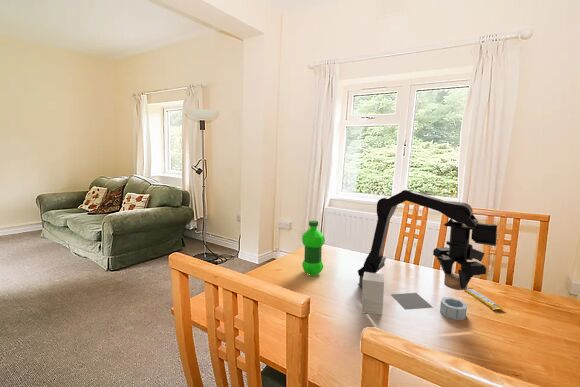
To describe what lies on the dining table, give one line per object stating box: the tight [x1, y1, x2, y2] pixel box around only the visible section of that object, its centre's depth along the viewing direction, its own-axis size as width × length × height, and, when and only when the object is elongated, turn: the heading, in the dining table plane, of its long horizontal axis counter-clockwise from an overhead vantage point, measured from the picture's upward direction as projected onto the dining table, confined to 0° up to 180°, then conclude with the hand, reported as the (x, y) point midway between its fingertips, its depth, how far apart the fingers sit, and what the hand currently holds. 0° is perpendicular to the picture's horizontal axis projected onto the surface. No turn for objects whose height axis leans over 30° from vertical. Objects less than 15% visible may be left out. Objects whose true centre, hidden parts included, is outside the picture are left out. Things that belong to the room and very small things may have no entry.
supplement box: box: [361, 272, 385, 316], centre depth 104 cm, size 7×7×13 cm
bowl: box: [439, 296, 468, 321], centre depth 101 cm, size 8×8×4 cm
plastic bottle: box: [301, 220, 326, 276], centre depth 133 cm, size 10×10×25 cm
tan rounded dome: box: [443, 272, 469, 291], centre depth 100 cm, size 7×7×3 cm
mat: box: [390, 292, 434, 310], centre depth 110 cm, size 11×11×1 cm
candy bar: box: [464, 286, 506, 311], centre depth 112 cm, size 17×4×2 cm, turn 5°
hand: (455, 283), depth 100 cm, fingers closed on tan rounded dome, 7 cm apart
